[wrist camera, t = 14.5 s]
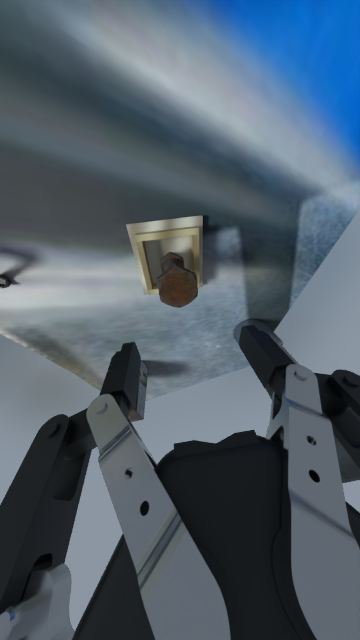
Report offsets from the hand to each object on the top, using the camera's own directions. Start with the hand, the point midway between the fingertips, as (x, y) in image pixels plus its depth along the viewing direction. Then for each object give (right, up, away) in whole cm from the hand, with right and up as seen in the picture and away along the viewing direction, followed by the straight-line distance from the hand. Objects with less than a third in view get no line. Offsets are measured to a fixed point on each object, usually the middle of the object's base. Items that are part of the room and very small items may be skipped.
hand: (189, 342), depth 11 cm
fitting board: (-3, +15, +21) cm, 26 cm away
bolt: (-3, +14, +20) cm, 25 cm away
